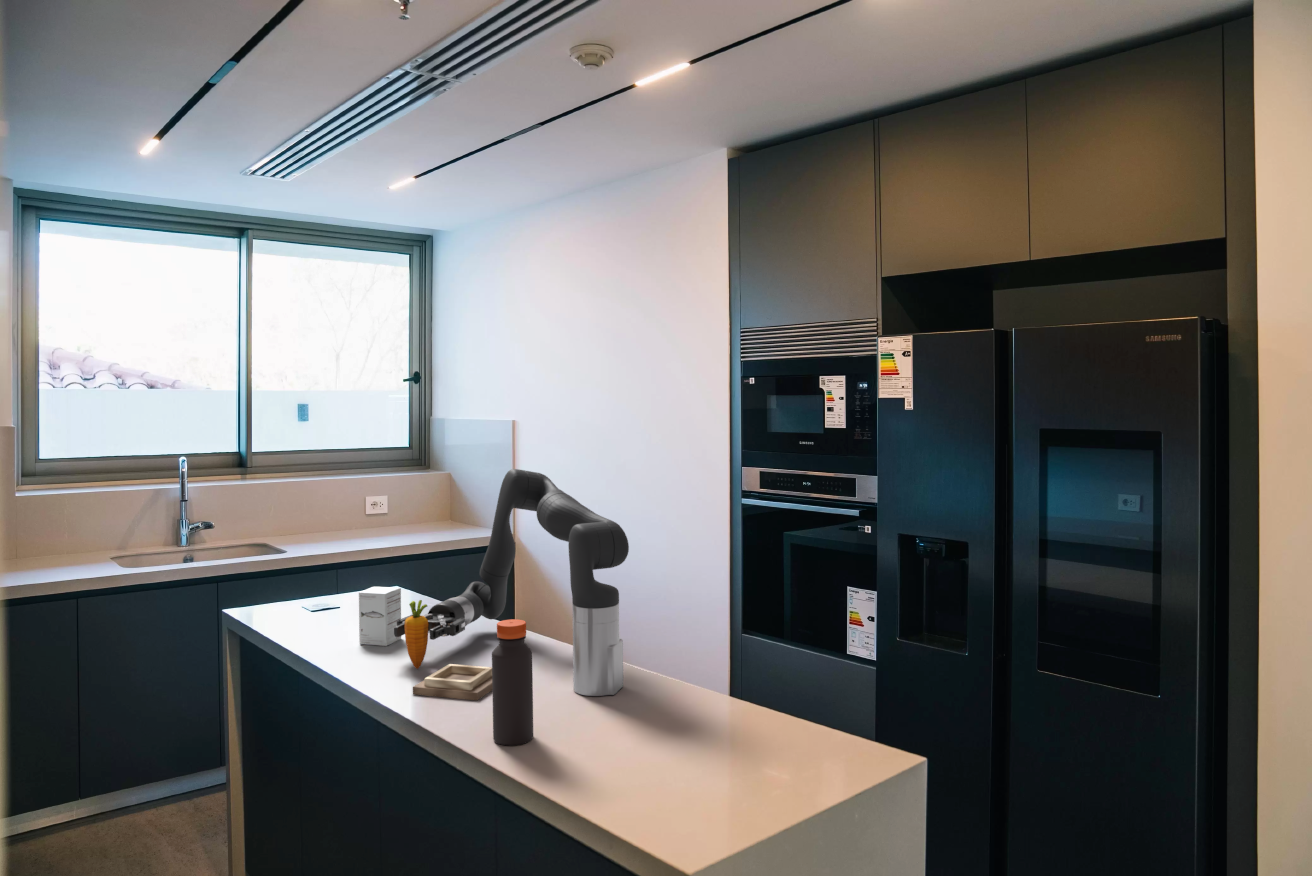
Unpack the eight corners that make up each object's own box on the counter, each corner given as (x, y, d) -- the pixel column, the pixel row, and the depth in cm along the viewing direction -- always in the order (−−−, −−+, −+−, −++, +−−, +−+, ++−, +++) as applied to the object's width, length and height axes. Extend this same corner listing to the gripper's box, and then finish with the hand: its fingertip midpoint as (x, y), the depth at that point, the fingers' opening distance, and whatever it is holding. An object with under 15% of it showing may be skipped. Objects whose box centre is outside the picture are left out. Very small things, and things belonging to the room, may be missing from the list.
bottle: (528, 729, 157) (526, 616, 156) (537, 742, 151) (535, 625, 150) (489, 734, 155) (487, 620, 154) (497, 749, 148) (495, 629, 148)
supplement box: (358, 645, 212) (357, 592, 211) (375, 636, 219) (374, 585, 219) (386, 646, 210) (385, 593, 210) (402, 638, 217) (401, 586, 217)
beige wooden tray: (504, 681, 184) (504, 666, 184) (477, 700, 172) (477, 684, 172) (443, 675, 188) (443, 661, 188) (412, 694, 176) (412, 679, 176)
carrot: (420, 663, 196) (418, 596, 196) (434, 668, 193) (432, 599, 192) (400, 669, 192) (399, 600, 192) (414, 673, 189) (413, 603, 189)
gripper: (423, 597, 209) (383, 614, 193) (479, 601, 205) (443, 618, 189) (424, 629, 209) (384, 648, 193) (479, 633, 205) (443, 653, 189)
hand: (413, 633), depth 191 cm, fingers open, 8 cm apart
